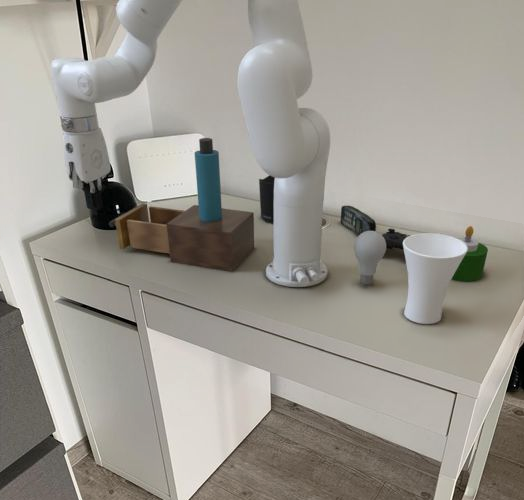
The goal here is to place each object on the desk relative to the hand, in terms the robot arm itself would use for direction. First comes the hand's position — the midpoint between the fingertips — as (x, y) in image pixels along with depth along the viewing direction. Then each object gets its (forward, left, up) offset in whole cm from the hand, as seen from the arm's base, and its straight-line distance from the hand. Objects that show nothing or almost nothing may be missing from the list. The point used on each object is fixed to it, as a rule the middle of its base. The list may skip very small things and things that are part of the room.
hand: (95, 208), depth 126 cm
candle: (-39, -72, -8) cm, 83 cm away
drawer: (-8, -11, -6) cm, 15 cm away
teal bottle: (-17, -24, +1) cm, 30 cm away
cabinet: (-17, -24, -7) cm, 31 cm away
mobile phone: (-13, -61, -8) cm, 62 cm away
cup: (-53, -56, -8) cm, 78 cm away
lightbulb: (-39, -51, -8) cm, 65 cm away
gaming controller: (-29, -63, -8) cm, 70 cm away
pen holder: (+2, -44, -8) cm, 45 cm away
